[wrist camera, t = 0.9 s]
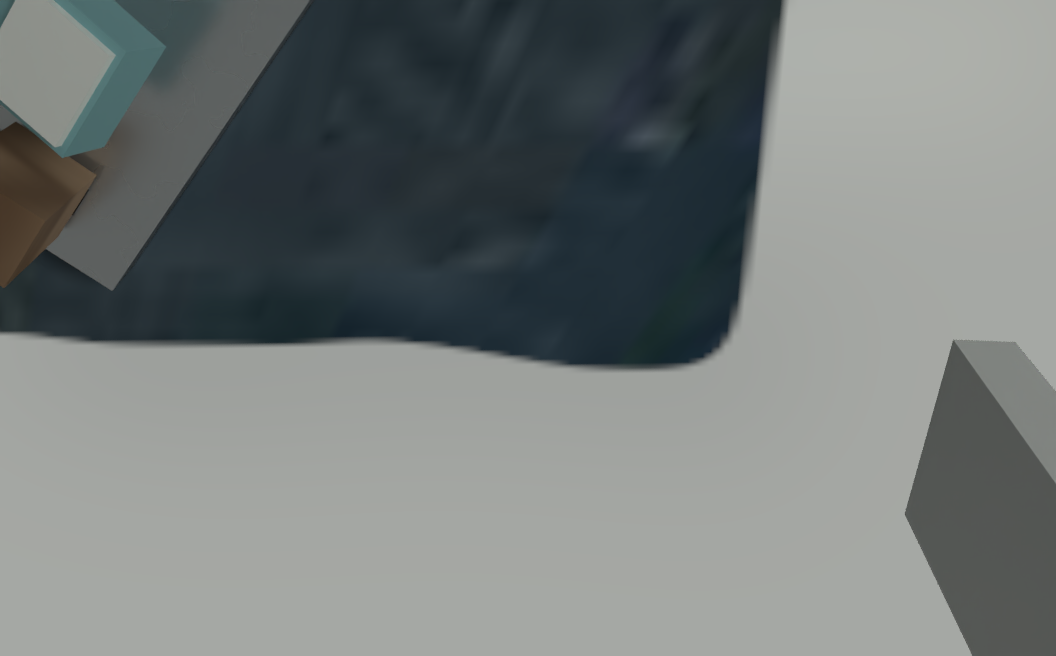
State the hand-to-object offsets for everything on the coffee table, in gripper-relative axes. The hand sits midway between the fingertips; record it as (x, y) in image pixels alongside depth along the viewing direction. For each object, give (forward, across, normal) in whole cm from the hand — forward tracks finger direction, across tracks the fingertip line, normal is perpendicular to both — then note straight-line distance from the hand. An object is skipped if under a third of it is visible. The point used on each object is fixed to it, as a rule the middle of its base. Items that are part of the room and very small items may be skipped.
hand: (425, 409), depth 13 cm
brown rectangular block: (+22, -16, -6) cm, 27 cm away
